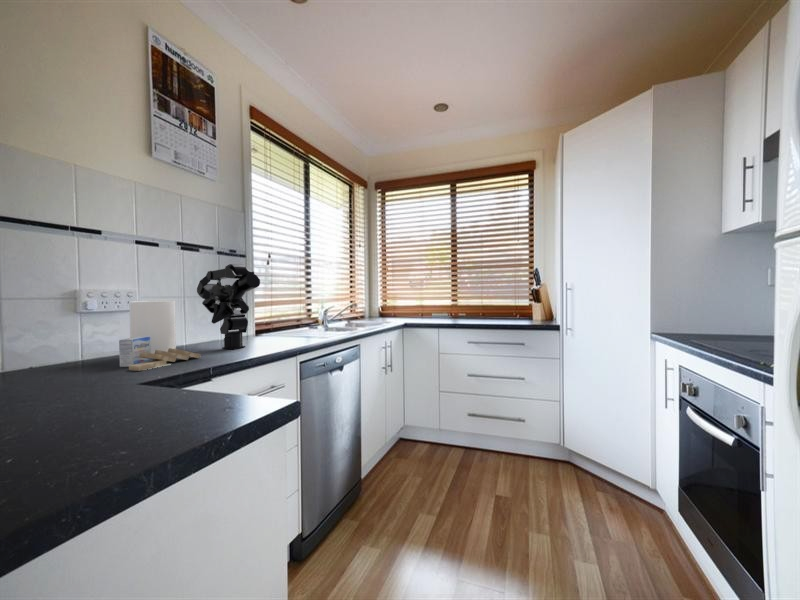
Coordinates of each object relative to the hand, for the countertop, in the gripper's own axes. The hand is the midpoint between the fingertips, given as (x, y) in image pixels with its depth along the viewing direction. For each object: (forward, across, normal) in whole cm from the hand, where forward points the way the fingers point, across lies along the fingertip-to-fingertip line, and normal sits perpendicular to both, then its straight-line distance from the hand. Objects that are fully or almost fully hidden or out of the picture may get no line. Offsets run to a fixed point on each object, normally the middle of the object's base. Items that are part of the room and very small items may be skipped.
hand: (212, 322), depth 131 cm
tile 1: (+12, -1, +3) cm, 13 cm away
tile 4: (+21, -1, -6) cm, 22 cm away
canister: (+15, -18, +2) cm, 24 cm away
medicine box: (+24, -9, -7) cm, 26 cm away
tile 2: (+15, -1, 0) cm, 15 cm away
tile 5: (+21, 0, -4) cm, 21 cm away
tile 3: (+19, -1, -3) cm, 19 cm away
